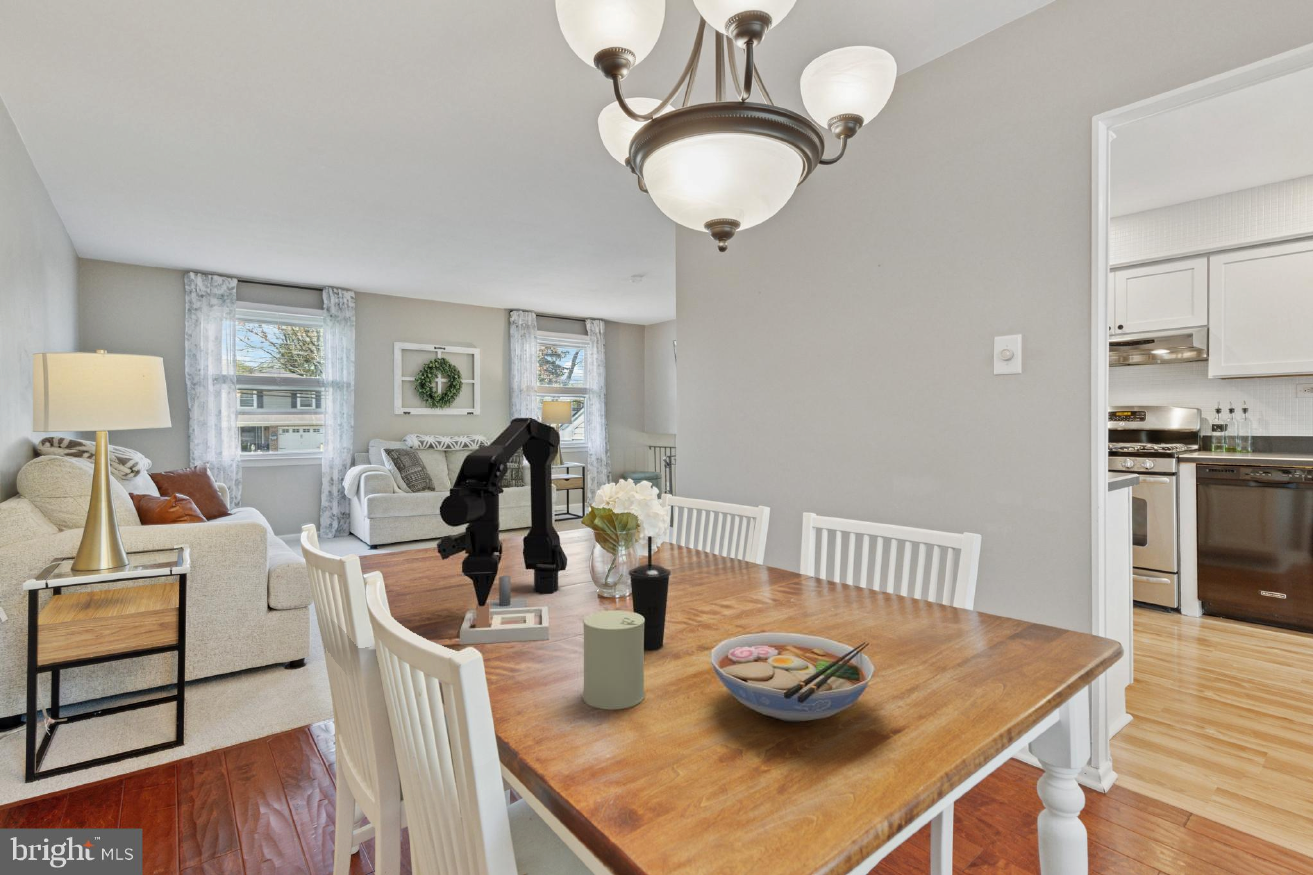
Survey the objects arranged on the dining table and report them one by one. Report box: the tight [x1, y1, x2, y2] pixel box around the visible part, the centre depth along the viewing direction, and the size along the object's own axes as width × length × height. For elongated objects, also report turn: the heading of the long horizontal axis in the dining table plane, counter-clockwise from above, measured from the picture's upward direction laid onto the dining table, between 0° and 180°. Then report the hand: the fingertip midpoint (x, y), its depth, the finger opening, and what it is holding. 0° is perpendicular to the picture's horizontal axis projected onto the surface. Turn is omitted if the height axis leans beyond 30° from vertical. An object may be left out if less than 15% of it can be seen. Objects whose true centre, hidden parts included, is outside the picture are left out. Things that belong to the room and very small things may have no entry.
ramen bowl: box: [710, 631, 876, 722], centre depth 89 cm, size 25×23×8 cm
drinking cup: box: [628, 535, 672, 651], centre depth 115 cm, size 8×8×20 cm
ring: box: [475, 598, 535, 628], centre depth 123 cm, size 8×11×5 cm
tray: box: [459, 606, 550, 646], centre depth 123 cm, size 13×16×2 cm
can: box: [582, 609, 646, 711], centre depth 94 cm, size 9×9×12 cm
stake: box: [490, 575, 527, 609], centre depth 136 cm, size 9×9×7 cm
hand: (483, 599), depth 122 cm, fingers open, 9 cm apart
